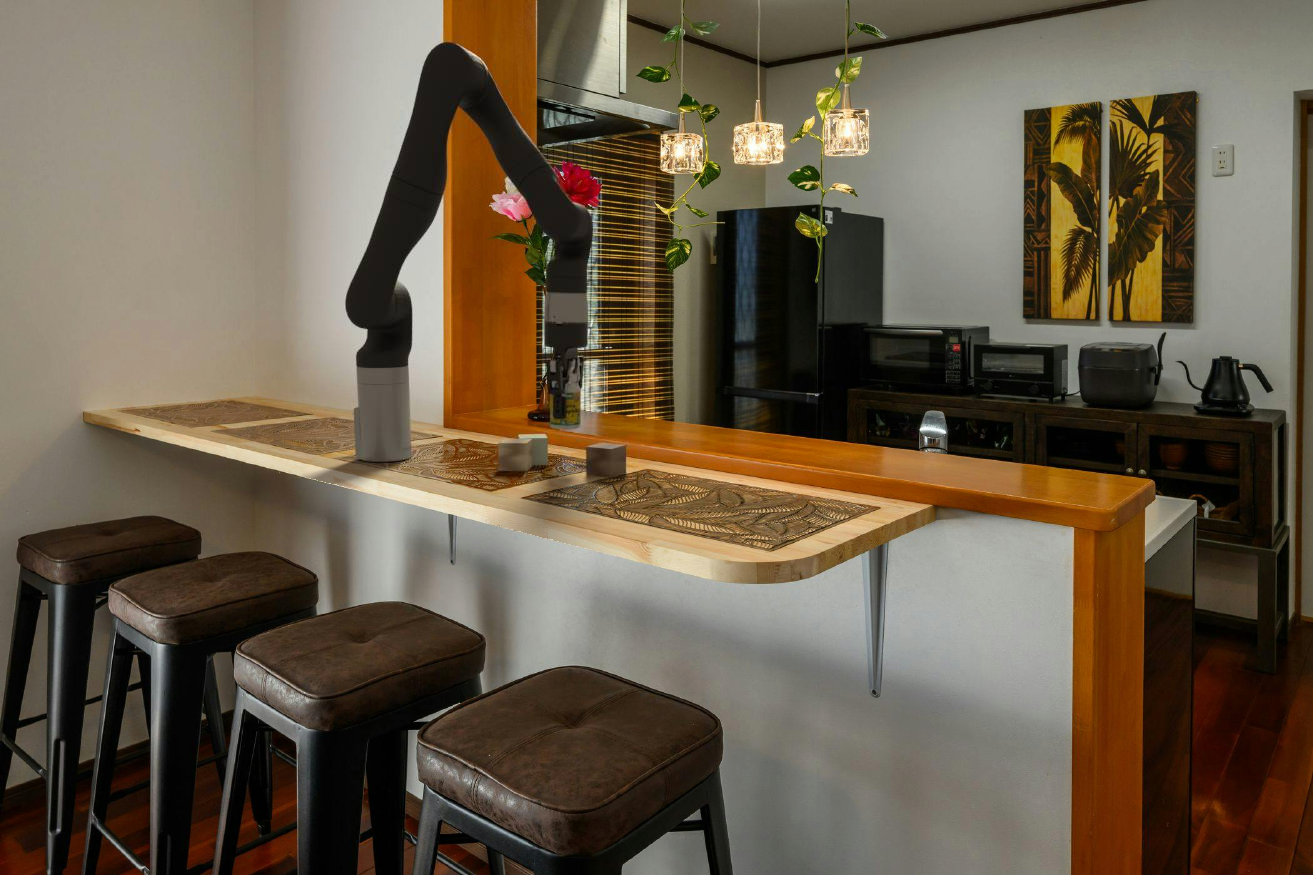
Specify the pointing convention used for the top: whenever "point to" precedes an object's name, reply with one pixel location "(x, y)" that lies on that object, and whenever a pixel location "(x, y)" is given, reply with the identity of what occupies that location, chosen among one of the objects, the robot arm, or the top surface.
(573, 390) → the supplement bottle
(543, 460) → the sage block
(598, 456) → the walnut block
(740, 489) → the top surface
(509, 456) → the oak block
